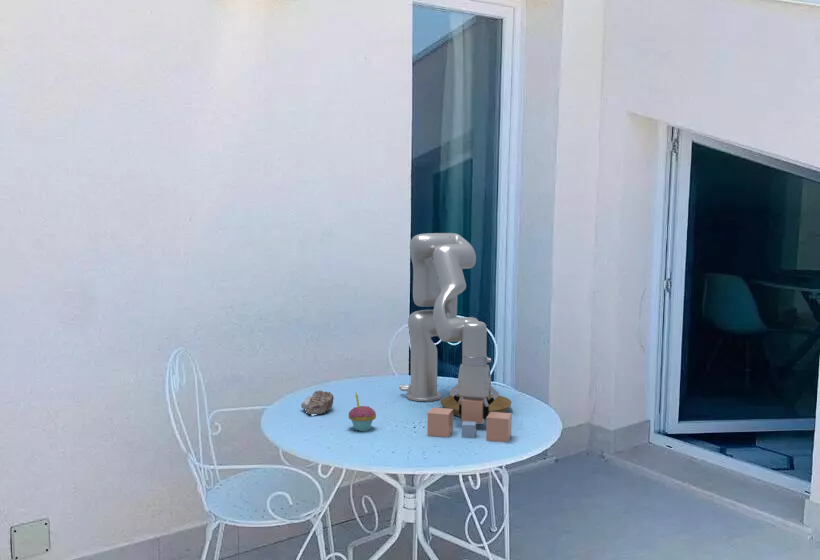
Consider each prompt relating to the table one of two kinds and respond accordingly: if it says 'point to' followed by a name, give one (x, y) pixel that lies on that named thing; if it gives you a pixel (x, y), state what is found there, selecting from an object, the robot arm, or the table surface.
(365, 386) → the table surface
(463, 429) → the cube
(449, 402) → the plant saucer
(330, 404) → the seashell
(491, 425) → the salmon orange block
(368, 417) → the cupcake
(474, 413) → the toy block
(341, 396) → the table surface
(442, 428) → the peach toy brick
